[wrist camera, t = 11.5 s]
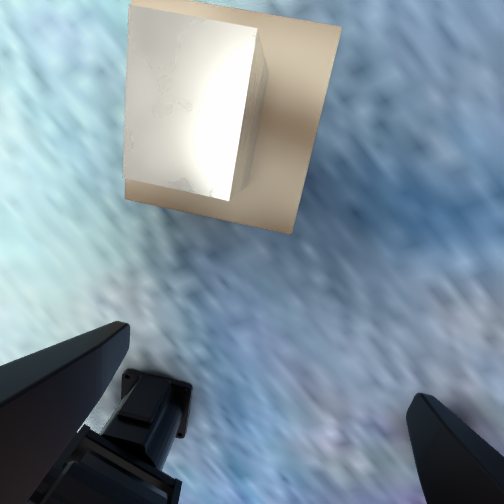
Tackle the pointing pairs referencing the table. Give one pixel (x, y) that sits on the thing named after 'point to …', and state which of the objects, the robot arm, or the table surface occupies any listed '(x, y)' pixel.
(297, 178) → the thin beige square tile
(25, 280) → the table surface
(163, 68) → the block
